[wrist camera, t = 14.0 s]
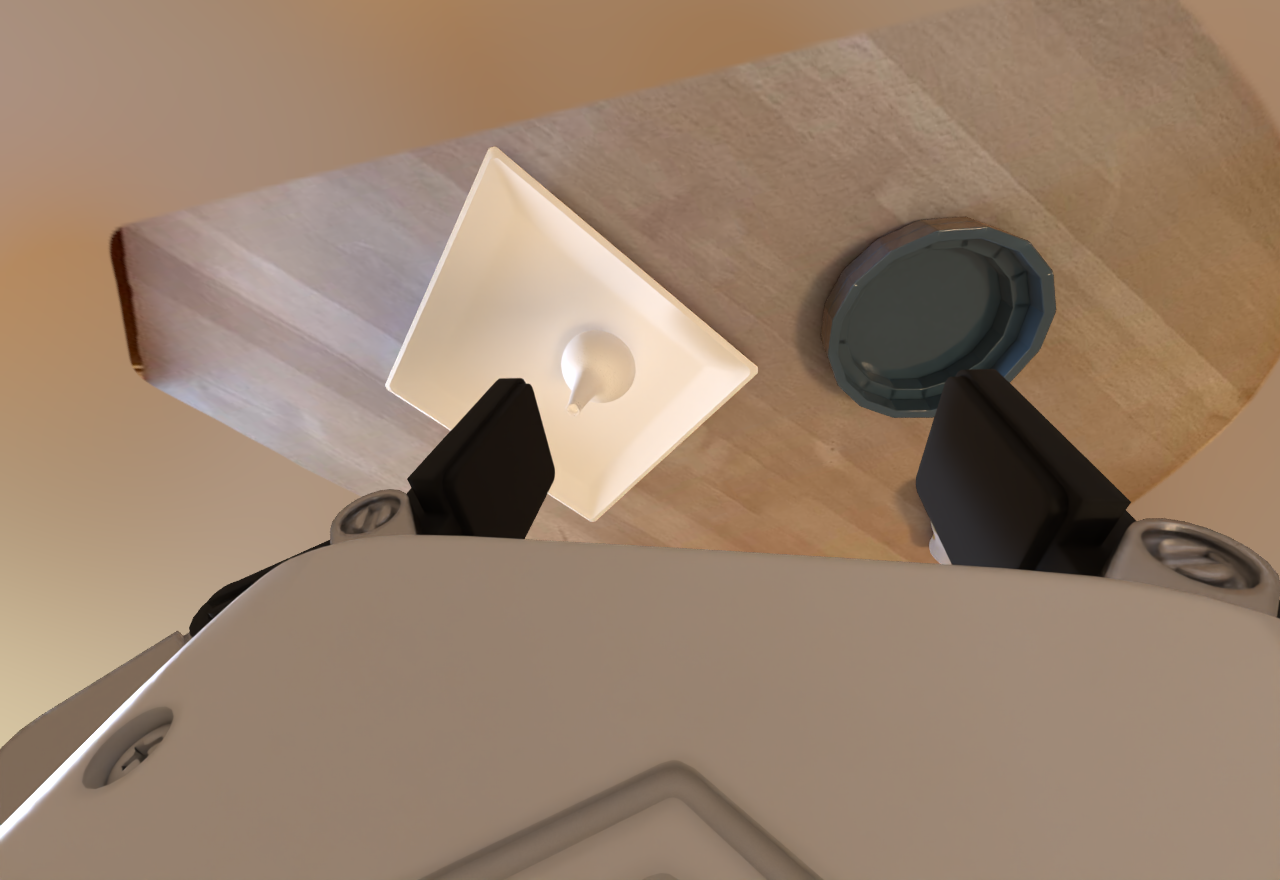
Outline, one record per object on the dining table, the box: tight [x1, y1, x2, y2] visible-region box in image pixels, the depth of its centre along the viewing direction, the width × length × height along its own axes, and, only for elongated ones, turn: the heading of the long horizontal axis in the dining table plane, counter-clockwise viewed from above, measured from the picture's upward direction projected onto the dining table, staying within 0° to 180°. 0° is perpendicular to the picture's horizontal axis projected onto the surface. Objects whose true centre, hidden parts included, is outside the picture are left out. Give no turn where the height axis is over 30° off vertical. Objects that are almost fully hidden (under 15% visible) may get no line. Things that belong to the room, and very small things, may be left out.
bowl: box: [821, 217, 1056, 418], centre depth 33 cm, size 14×14×4 cm
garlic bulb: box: [561, 330, 636, 417], centre depth 36 cm, size 6×6×8 cm
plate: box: [385, 147, 758, 522], centre depth 42 cm, size 26×26×2 cm
